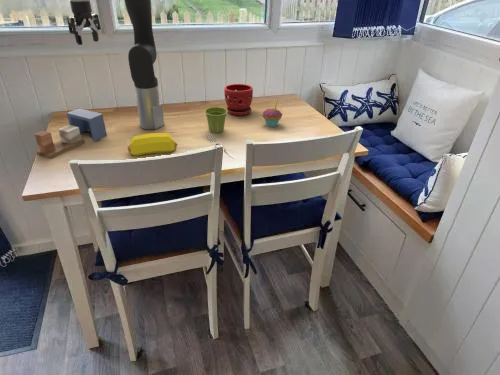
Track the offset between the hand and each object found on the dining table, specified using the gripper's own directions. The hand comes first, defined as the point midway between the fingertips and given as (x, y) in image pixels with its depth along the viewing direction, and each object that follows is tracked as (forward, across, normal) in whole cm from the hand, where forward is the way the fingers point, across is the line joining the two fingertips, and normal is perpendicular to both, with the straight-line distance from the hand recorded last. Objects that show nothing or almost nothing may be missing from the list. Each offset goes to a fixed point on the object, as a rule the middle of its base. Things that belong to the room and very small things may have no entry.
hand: (88, 42), depth 152 cm
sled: (+30, -35, -15) cm, 49 cm away
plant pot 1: (+30, +7, -57) cm, 65 cm away
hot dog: (+30, -21, -46) cm, 59 cm away
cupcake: (+30, +24, -75) cm, 84 cm away
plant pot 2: (+30, +31, -55) cm, 70 cm away
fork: (+31, -7, -68) cm, 75 cm away
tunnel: (+30, -22, -15) cm, 40 cm away
